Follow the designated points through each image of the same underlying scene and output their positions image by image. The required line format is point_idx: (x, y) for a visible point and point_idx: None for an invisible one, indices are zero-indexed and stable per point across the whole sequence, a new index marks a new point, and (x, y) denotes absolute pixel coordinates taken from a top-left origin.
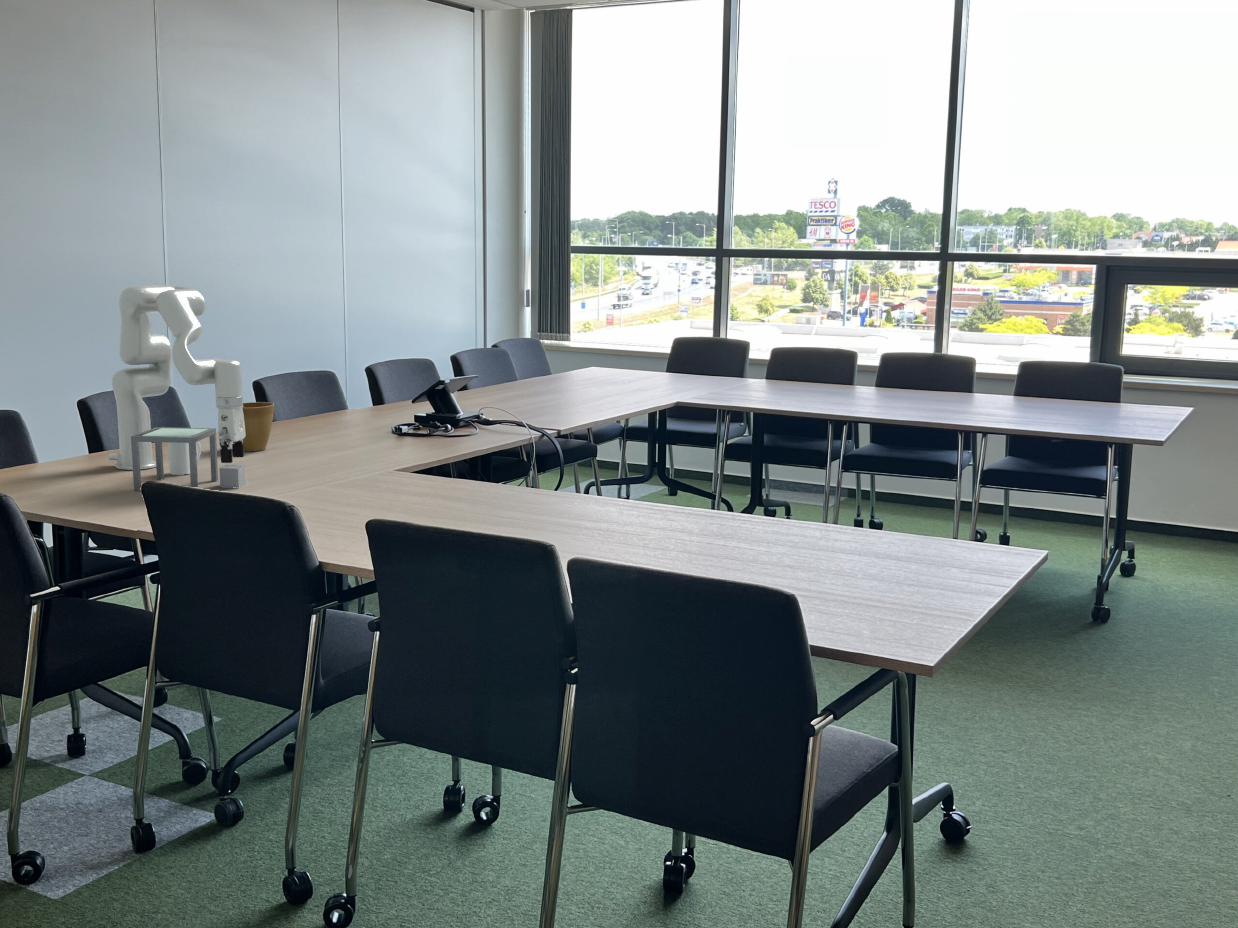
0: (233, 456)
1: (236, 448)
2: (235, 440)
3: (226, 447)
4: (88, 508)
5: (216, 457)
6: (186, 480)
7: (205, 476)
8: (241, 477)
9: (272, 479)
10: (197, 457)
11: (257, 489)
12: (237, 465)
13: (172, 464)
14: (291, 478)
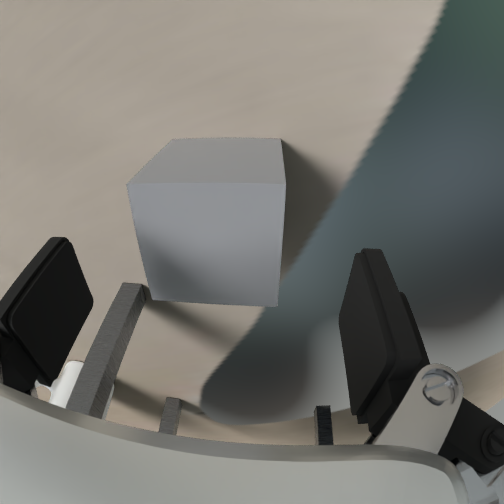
0: (91, 302)
1: (53, 333)
2: (434, 465)
3: (466, 401)
4: (475, 398)
5: (91, 364)
6: (161, 360)
7: (87, 328)
8: (220, 153)
9: (37, 66)
10: (37, 382)
11: (305, 26)
12: (153, 227)
13: (107, 411)
14: (12, 3)
